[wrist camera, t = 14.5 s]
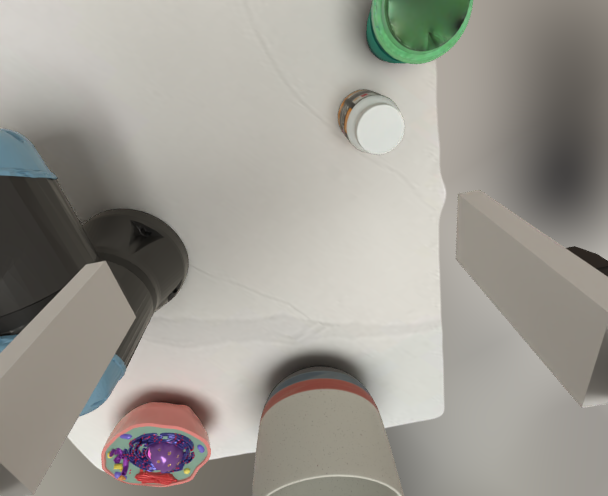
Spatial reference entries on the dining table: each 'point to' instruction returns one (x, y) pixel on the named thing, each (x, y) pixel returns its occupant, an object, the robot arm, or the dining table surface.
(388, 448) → the planter
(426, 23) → the cup
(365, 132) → the pill bottle
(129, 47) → the dining table surface
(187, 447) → the cell model
